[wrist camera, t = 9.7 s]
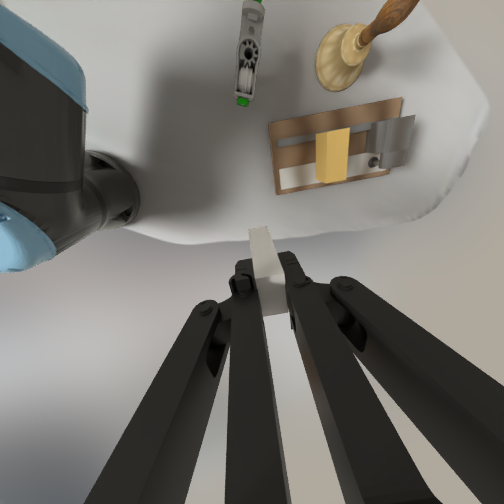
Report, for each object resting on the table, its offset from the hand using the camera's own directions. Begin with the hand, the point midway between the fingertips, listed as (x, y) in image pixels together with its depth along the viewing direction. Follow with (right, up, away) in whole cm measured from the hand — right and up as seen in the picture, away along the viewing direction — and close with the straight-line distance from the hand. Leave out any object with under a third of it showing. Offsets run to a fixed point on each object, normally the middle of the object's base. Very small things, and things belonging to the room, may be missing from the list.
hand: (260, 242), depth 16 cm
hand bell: (+14, +32, +16) cm, 38 cm away
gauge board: (+15, +20, +23) cm, 34 cm away
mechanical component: (-2, +29, +17) cm, 33 cm away
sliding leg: (+13, +18, +21) cm, 31 cm away
